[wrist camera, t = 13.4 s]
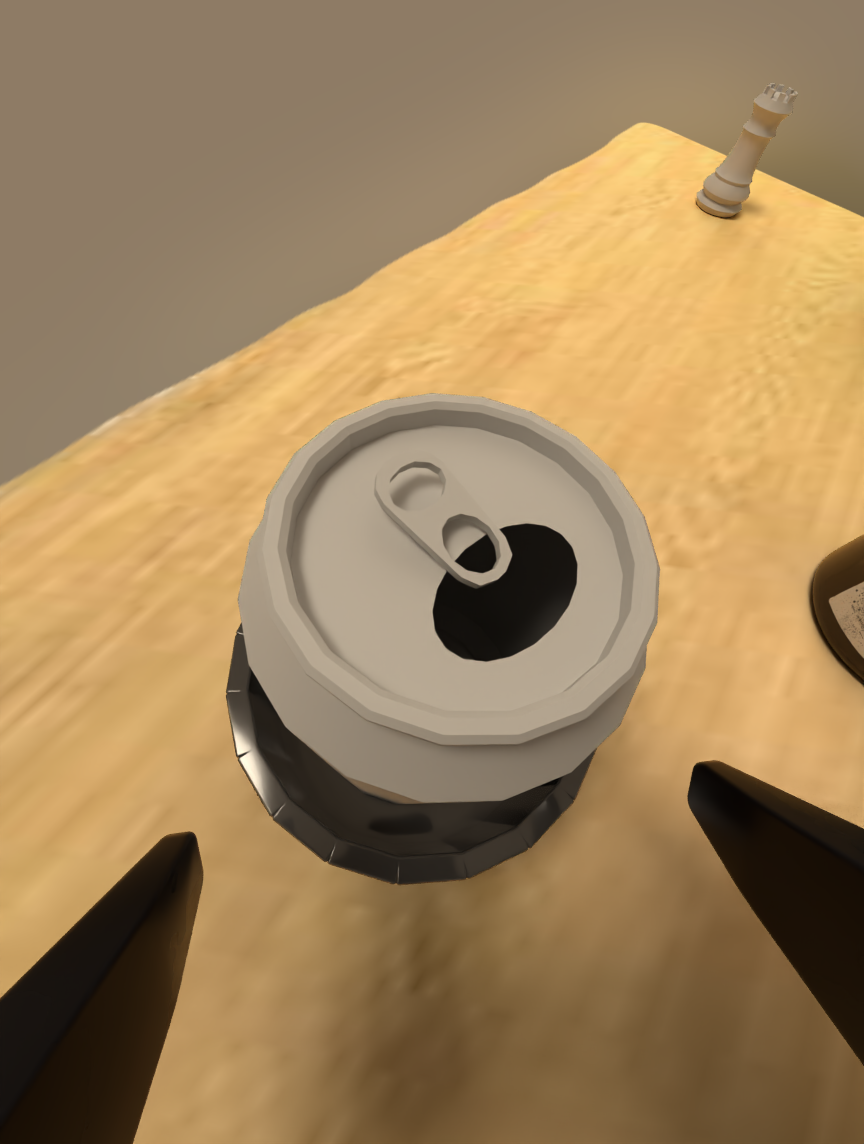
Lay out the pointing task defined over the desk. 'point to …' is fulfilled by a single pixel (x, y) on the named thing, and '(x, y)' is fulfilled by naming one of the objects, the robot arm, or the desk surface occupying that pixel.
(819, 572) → the ink bottle
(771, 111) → the rook chess piece
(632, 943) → the desk surface
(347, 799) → the bowl
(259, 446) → the desk surface
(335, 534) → the can
